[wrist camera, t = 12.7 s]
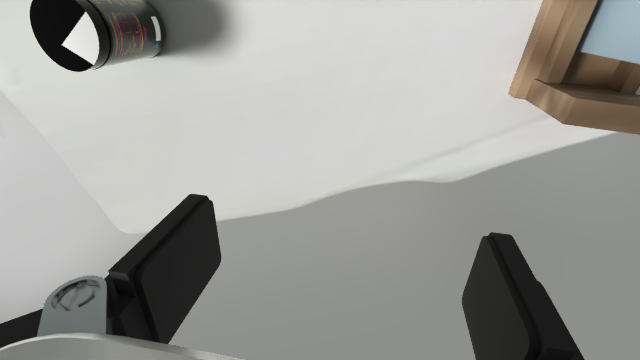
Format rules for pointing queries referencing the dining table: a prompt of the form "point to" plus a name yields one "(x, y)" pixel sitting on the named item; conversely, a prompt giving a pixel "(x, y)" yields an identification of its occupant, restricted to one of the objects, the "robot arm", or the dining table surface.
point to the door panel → (613, 30)
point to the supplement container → (96, 31)
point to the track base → (576, 73)
